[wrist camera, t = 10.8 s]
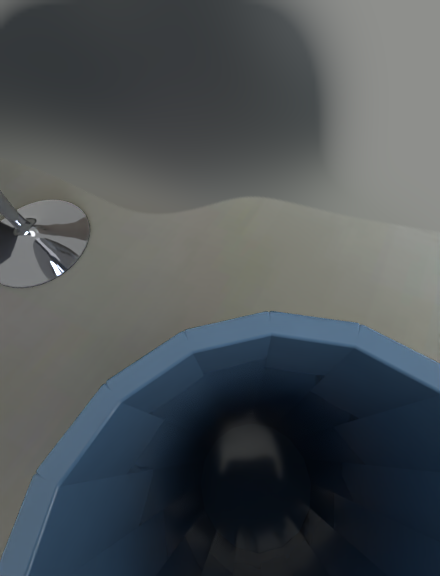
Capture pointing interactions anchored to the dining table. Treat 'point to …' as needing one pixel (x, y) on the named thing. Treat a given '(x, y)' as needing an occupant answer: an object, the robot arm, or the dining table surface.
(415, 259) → the dining table surface
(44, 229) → the wine glass
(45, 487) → the tumbler
